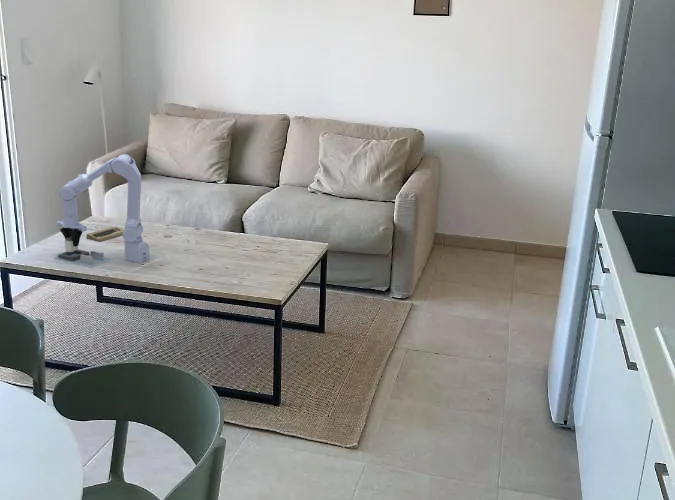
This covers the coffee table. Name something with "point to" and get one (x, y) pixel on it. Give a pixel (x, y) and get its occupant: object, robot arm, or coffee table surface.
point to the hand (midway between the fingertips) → (73, 245)
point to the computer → (105, 234)
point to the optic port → (72, 258)
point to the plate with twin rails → (91, 257)
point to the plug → (70, 245)
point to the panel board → (95, 261)
